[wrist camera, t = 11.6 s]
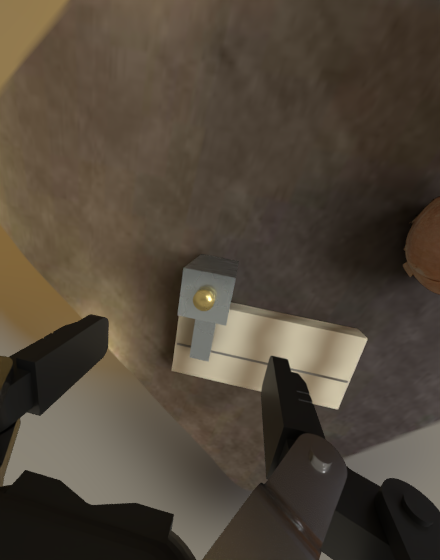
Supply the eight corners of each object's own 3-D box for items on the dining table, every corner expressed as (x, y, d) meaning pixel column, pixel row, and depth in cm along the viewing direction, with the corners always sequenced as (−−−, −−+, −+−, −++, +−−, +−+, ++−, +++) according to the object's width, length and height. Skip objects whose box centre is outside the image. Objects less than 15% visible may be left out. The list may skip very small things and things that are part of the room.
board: (357, 328, 23) (368, 338, 21) (330, 395, 26) (338, 409, 24) (186, 293, 24) (180, 299, 22) (177, 360, 27) (171, 371, 25)
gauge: (238, 261, 23) (235, 280, 15) (222, 342, 25) (212, 393, 18) (201, 254, 23) (180, 269, 15) (189, 335, 26) (166, 382, 18)
